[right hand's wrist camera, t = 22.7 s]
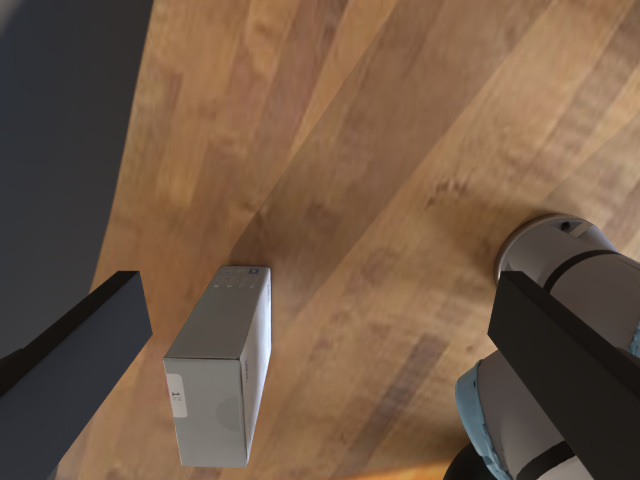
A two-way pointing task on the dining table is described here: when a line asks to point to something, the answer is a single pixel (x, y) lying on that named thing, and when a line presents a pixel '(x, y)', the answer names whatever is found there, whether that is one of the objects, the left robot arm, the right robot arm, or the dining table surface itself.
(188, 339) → the hard drive box
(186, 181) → the dining table surface
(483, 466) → the sphere
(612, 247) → the right robot arm
